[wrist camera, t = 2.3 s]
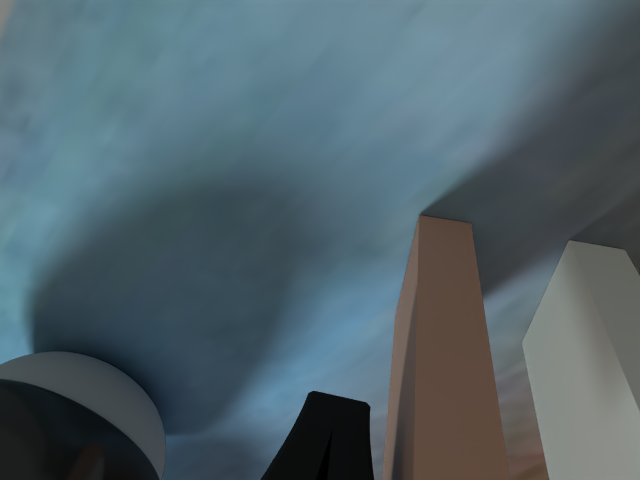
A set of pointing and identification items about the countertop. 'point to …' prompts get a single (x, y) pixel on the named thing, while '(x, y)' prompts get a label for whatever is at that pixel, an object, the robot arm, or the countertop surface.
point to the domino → (588, 365)
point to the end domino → (442, 366)
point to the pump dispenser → (76, 421)
